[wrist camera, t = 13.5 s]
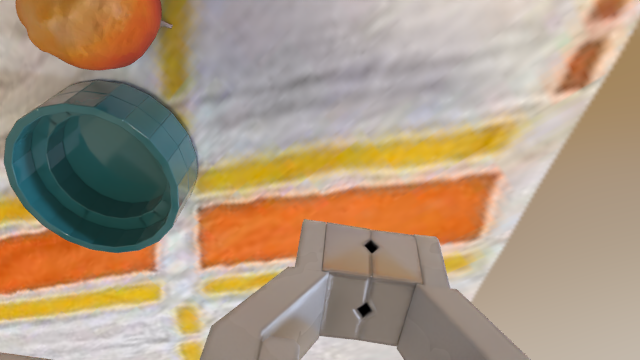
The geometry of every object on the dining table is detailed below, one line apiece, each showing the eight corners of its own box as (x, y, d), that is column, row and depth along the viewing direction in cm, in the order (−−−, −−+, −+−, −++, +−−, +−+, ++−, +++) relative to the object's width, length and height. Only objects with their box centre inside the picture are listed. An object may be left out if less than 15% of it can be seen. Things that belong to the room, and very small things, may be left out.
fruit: (121, 101, 33) (16, 84, 25) (84, 0, 33) (-29, -46, 26) (213, 49, 30) (128, 13, 23) (172, -58, 31) (75, -128, 23)
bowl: (30, 67, 34) (-17, 92, 29) (197, 89, 33) (173, 118, 29) (61, 204, 40) (25, 241, 36) (201, 223, 40) (182, 262, 36)
